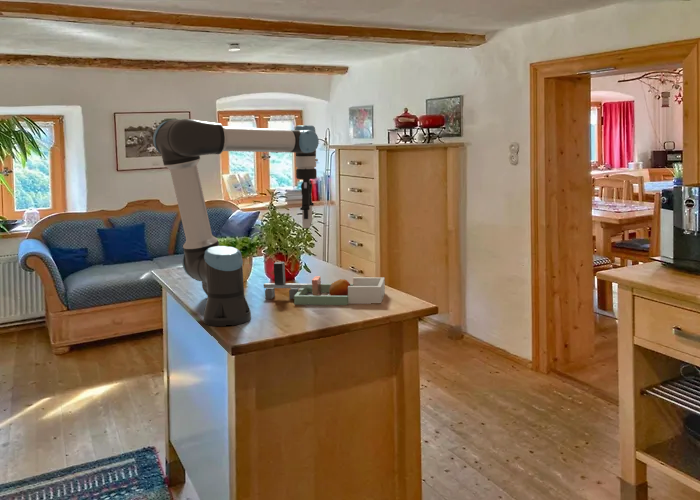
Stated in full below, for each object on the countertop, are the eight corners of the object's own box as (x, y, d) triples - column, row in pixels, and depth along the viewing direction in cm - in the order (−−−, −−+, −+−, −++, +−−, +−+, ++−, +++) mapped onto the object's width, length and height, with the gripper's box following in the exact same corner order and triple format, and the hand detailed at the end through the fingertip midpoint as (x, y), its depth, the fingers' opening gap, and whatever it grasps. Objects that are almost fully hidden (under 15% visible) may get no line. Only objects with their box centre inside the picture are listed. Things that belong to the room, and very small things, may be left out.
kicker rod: (262, 298, 231) (260, 264, 229) (267, 293, 237) (265, 261, 235) (318, 298, 228) (316, 264, 226) (321, 294, 234) (319, 261, 232)
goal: (348, 303, 223) (347, 286, 221) (353, 293, 237) (353, 277, 235) (381, 303, 221) (380, 287, 220) (384, 293, 235) (384, 277, 234)
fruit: (354, 297, 225) (342, 278, 224) (335, 308, 227) (323, 289, 226) (358, 291, 233) (346, 273, 232) (340, 302, 235) (328, 283, 234)
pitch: (260, 304, 225) (259, 295, 224) (273, 291, 243) (273, 282, 242) (347, 305, 221) (347, 296, 220) (354, 291, 238) (354, 283, 238)
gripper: (314, 169, 222) (316, 229, 226) (317, 166, 247) (319, 220, 250) (293, 169, 222) (294, 230, 226) (298, 166, 247) (300, 221, 250)
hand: (307, 225), depth 238 cm, fingers open, 13 cm apart
